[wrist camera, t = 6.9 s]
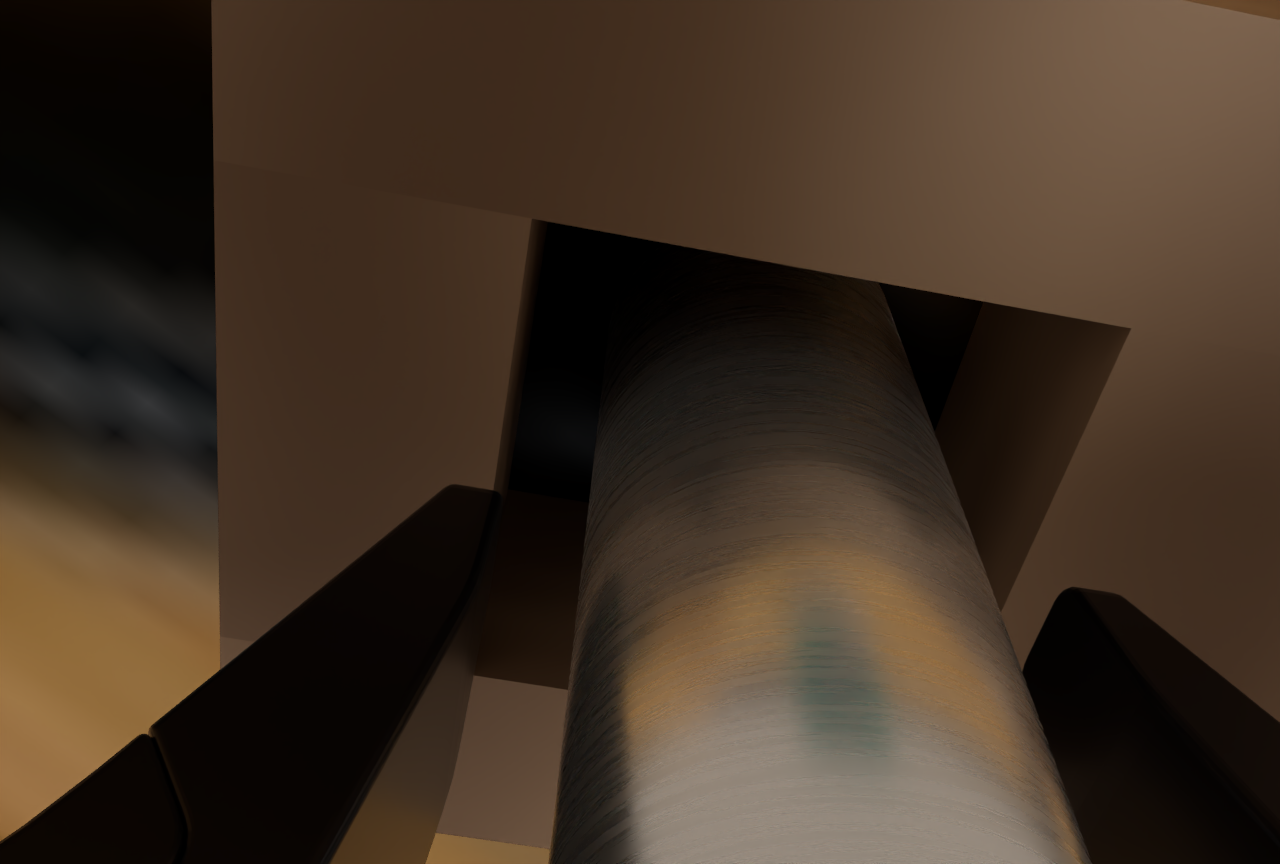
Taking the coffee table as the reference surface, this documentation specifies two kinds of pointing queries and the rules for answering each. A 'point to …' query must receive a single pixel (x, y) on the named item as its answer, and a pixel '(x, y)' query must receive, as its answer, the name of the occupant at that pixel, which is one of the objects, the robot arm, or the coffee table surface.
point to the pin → (786, 599)
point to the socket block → (762, 230)
